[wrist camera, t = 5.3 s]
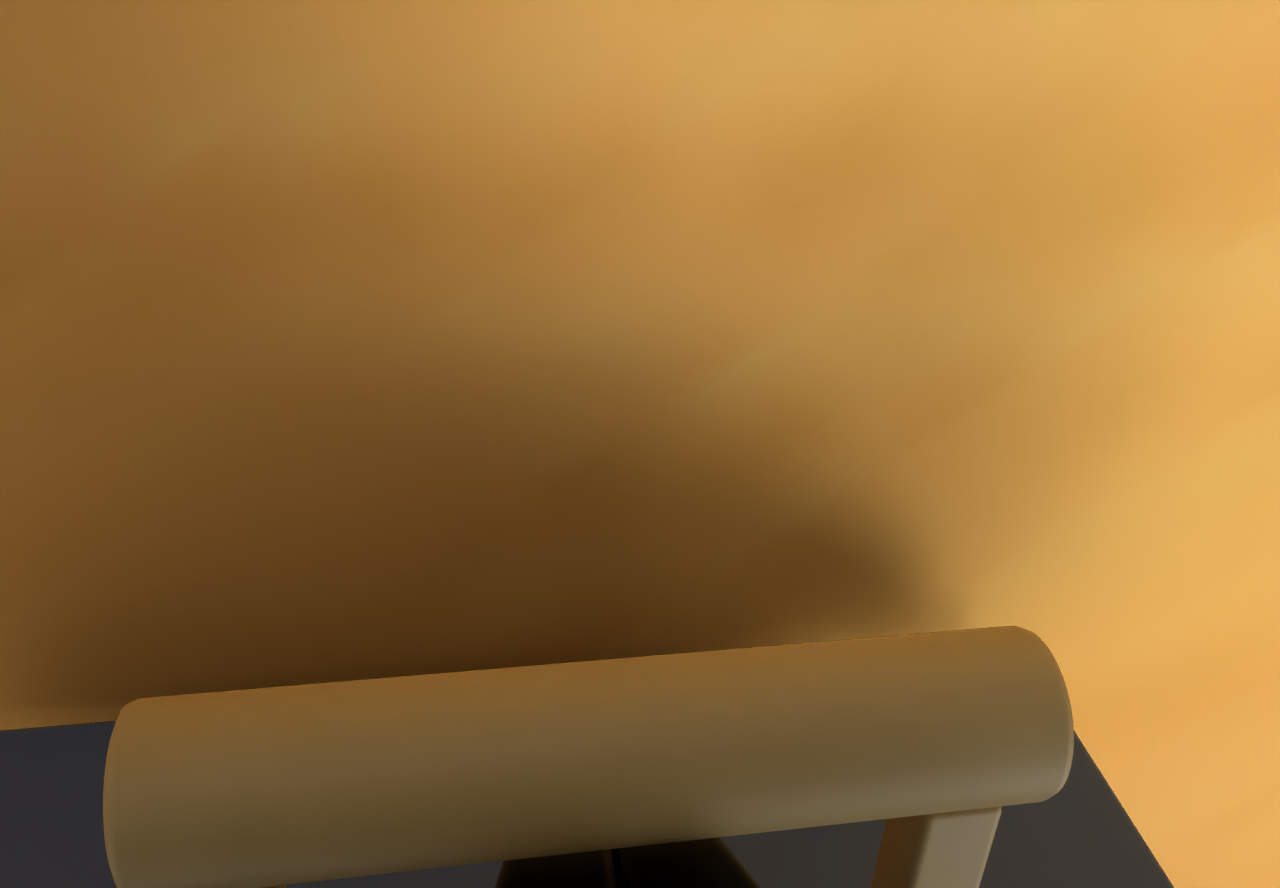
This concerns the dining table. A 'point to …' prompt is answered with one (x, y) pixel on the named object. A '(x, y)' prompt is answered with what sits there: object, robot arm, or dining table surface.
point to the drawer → (590, 774)
